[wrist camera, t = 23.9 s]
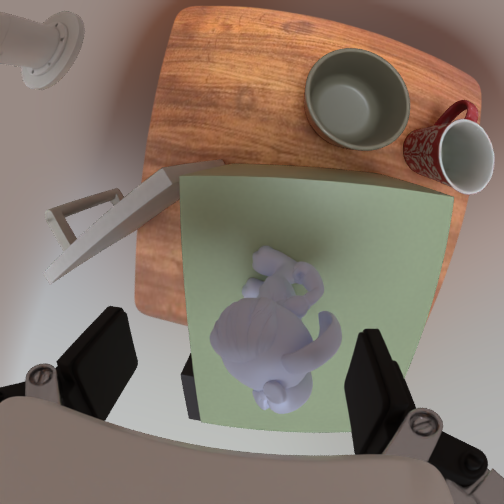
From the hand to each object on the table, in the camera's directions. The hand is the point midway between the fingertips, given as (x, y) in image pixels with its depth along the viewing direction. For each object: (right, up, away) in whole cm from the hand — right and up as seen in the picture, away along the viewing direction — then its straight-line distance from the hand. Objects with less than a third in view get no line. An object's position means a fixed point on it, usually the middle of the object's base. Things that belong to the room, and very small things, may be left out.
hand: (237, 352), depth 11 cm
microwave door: (-13, +15, +33) cm, 39 cm away
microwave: (+7, +3, +35) cm, 36 cm away
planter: (+14, +24, +27) cm, 39 cm away
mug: (+28, +21, +26) cm, 43 cm away
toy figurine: (+3, +2, +12) cm, 13 cm away
